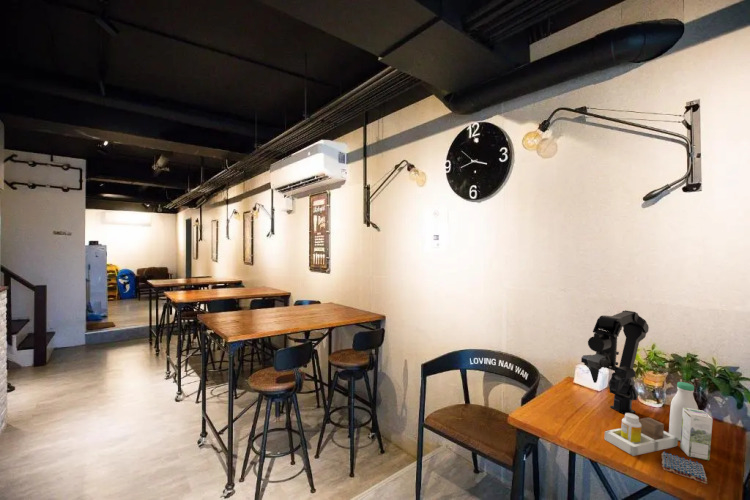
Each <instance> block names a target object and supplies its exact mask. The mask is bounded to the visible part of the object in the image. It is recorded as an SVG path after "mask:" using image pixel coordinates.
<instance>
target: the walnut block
mask: <svg viewBox="0 0 750 500" xmlns="http://www.w3.org/2000/svg"><path fill="white" fill-rule="evenodd" d="M639 422H640V423H641V433H642V434H644V435H646V436H648V437H650V438H652V439H654V440H658V439H663V431H665V430H664V427H665V424H664V423H662V422H660V421H658V420H656V419H653V418H652V417H643V418H639Z"/></svg>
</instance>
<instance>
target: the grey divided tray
mask: <svg viewBox="0 0 750 500" xmlns="http://www.w3.org/2000/svg"><path fill="white" fill-rule="evenodd" d="M603 439H604V440H605V441H606V442H608V443H610V444H612V445H613V446H615V447H617V448H619V449H620V450H622V451H624V452H626V453H628V454H629V455H630V456H632V457H635V456H639V455H643V454H649V453H653V452H657V451H658V452H659V451H662V450H667V449H671V448H674V447H675V448H676V447H678V446H679V445H678V443H679V440H678V437H676V436H674V435H671V434H669V432H668V431H665V430H664V431H663V439H658V440H654V439H652V438H650V437H648V436H646V435H644V434H642V433H641V443H639V444H633V443H631V442H630V441H628V440H626V439H624V438H622V437H621V428H614V429H609V430H605V431H604V438H603Z"/></svg>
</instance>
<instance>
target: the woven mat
mask: <svg viewBox="0 0 750 500" xmlns="http://www.w3.org/2000/svg"><path fill="white" fill-rule="evenodd" d="M660 455H661V459H662V461H661V467H662V468H663V470H665V471H666V472H671V473H673V474H676V475H679V476H683V477H685V478H688V479H692V480H694V481H697V482H700V483H703V484H707V485H708V480H707V479H708V478H707V476H706V475H707V474H706V472H705V469H704V468H705V467H704V466H703V464H702V463H701V462H700V463H699V462H698V461H697V460H696V461H694V460H692V459H690V458H689V460H688V459H687V458H685V457H684V456H682V457H681V456H679V455H677V454H673V455H672V453H671V452H670V453H668V452H666V451H665V450H663V453H661V454H660ZM666 457H667V458H666Z"/></svg>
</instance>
